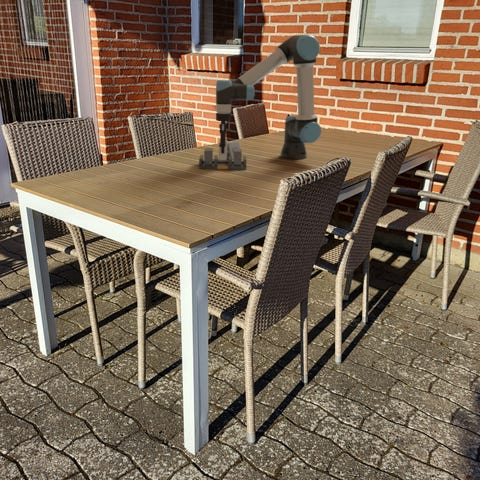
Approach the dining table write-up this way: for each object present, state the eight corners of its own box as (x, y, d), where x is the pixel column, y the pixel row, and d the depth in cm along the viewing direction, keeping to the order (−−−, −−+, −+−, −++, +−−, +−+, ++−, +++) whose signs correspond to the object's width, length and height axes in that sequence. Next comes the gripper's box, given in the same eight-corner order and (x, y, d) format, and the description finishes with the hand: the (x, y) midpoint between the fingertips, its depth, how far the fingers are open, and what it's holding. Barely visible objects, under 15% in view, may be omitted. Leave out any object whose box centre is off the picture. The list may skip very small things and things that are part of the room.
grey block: (227, 156, 251) (227, 139, 247) (226, 159, 243) (226, 142, 240) (219, 156, 250) (219, 139, 247) (218, 159, 243) (219, 142, 240)
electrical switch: (231, 160, 263) (230, 143, 260) (224, 159, 266) (223, 143, 263) (242, 157, 270) (241, 141, 267) (235, 157, 273) (234, 141, 270)
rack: (245, 164, 255) (246, 147, 251) (246, 170, 242) (246, 152, 239) (200, 163, 254) (200, 146, 251) (198, 169, 242) (198, 151, 238)
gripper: (216, 110, 248) (216, 153, 256) (215, 115, 229) (214, 161, 237) (231, 110, 248) (230, 153, 256) (230, 115, 229) (229, 162, 237)
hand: (222, 157), depth 247 cm, fingers closed on grey block, 8 cm apart
